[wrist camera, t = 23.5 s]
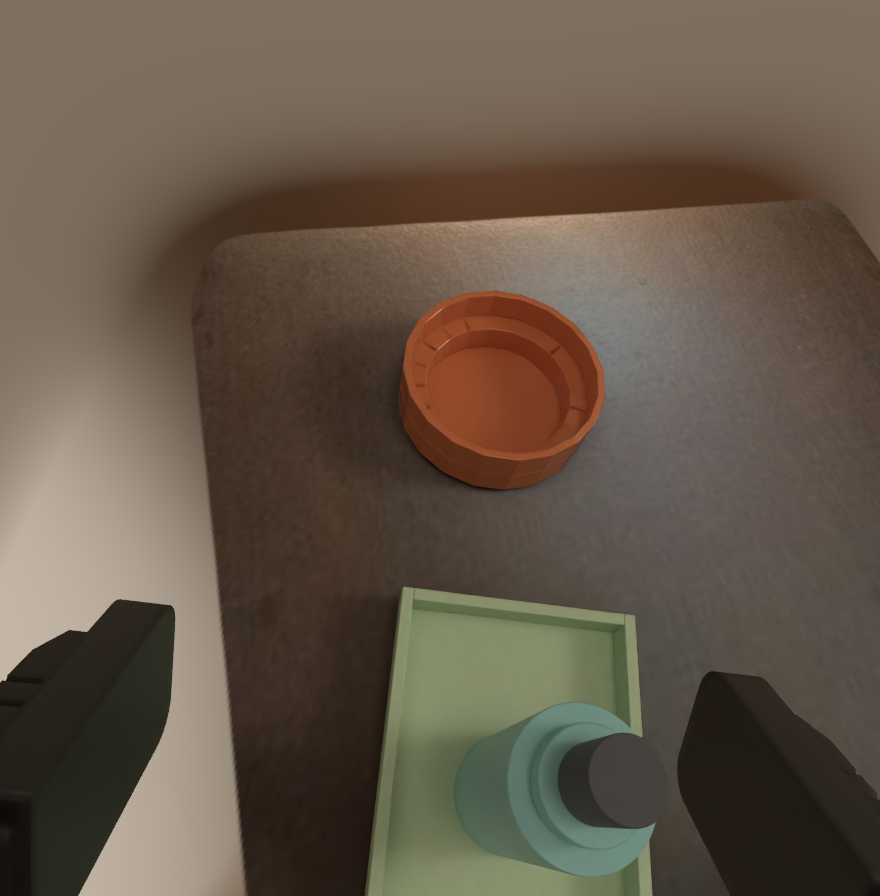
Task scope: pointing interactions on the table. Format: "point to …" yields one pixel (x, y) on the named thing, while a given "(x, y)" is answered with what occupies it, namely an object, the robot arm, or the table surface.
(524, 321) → the bowl
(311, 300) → the table surface
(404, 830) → the tray
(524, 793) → the bottle
